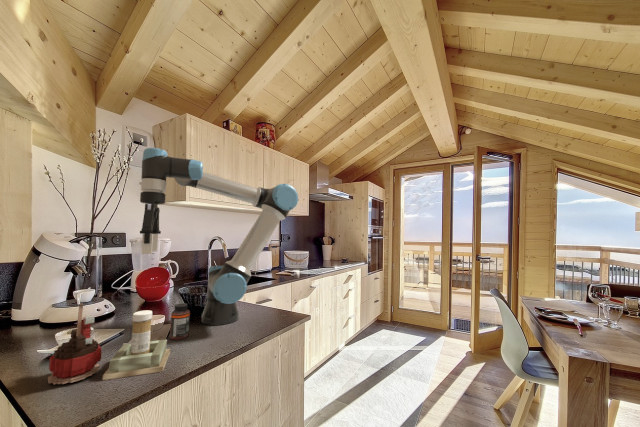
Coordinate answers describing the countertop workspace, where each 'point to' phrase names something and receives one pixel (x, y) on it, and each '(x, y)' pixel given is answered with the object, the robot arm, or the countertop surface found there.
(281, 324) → the countertop surface
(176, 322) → the supplement bottle
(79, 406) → the countertop surface
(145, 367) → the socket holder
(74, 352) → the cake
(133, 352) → the sprinkles bottle
